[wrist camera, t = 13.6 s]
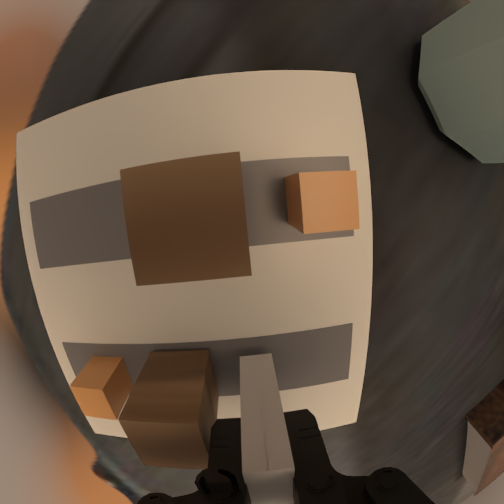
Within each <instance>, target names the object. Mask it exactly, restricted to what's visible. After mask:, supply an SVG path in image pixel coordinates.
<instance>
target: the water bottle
mask: <svg viewBox="0 0 504 504" xmlns="http://www.w3.org/2000/svg"><path fill="white" fill-rule="evenodd" d="M418 87H419V89H420V90H421V92H422V94H423V96H424V98H425V100H426V102H427V104H428V106H429V108H430V110H431V112H432V115H433V117H434V119H435V121H436V123H437V126H438V128H439V130H440V131H441V132H442V133H443V134H445V135H446V136H447V137H449V138H450V139H451V140H453V141H454V142H456V143H457V144H458V145H460V146H461V147H462V148H464V149H465V150H466V151H468V152H469V153H470V154H472V155H473V156H474V157H475V158H477V159H478V160H479V161H480V162H482V163H504V0H474V1H472V2H471V3H469V4H468V5H466V6H465V7H463V8H461V9H460V10H458V11H457V12H455V13H454V14H452V15H451V16H449V17H448V18H446V19H445V20H443V21H442V22H441V23H439V24H438V25H436V26H435V27H433V28H432V29H431V30H429V31H428V32H426V33H425V34H424V35H422V42H421V55H420V66H419V75H418Z"/></svg>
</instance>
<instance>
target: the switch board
mask: <svg viewBox="0 0 504 504" xmlns="http://www.w3.org/2000/svg"><path fill="white" fill-rule="evenodd" d="M238 151H240V160H241V170H242V180H243V191H244V201H245V211H246V221H247V231H248V242H249V252H250V262H251V272H252V276H243V277H233V278H223V279H213V280H202V281H191V282H180V283H168V284H156V285H144V286H136V281H135V276H134V271H133V265H132V260H131V254H130V248H129V242H128V236H127V229H126V222H125V215H124V207H123V198H122V189H121V178H120V170H121V169H126V168H131V167H136V166H141V165H146V164H151V163H157V162H163V161H169V160H175V159H182V158H189V157H196V156H203V155H211V154H220V153H229V152H238ZM16 171H17V190H18V202H19V212H20V220H21V228H22V234H23V240H24V246H25V252H26V257H27V262H28V266H29V271H30V275H31V279H32V283H33V287H34V291H35V295H36V298H37V302H38V305H39V308H40V312H41V315H42V318H43V321H44V324H45V327H46V330H47V333H48V336H49V338H50V341H51V344H52V346H53V349H54V351H55V354H56V356H57V359H58V361H59V364H60V366H61V368H62V370H63V373H64V375H65V377H66V379H67V381H68V384H69V386H70V388H71V390H72V392H73V394H74V396H75V398H76V400H77V402H78V404H79V406H80V408H81V410H82V411H83V413H84V415H85V417H86V418H87V420H88V422H89V424H90V425H91V427H92V429H93V430H94V432H95V433H98V434H104V435H110V436H117V437H125V438H128V437H127V435H126V434H125V432H124V430H123V428H122V426H121V424H120V422H119V420H118V418H119V416H120V414H121V412H122V410H123V408H124V405H125V403H126V401H127V399H128V397H129V395H130V393H131V391H132V389H133V386H134V384H135V382H136V380H137V378H138V376H139V374H140V372H141V370H142V368H143V366H144V364H145V362H146V360H147V358H148V356H149V354H150V352H158V351H188V350H206V349H209V350H210V355H211V360H212V365H213V370H214V375H215V380H216V385H217V389H218V394H219V399H218V413H217V419H225V418H241V407H240V356H251V355H260V354H269V353H272V358H273V363H274V368H275V373H276V378H277V383H278V388H279V393H280V398H281V403H282V408H283V412H289V411H296V410H302V409H308V410H309V411H310V412H311V413H312V414H313V415H314V416H315V418H316V421H317V424H318V428H319V430H324V429H329V428H334V427H338V426H342V425H346V424H351V423H354V422H356V420H357V415H358V410H359V404H360V398H361V392H362V386H363V379H364V372H365V364H366V356H367V347H368V337H369V326H370V313H371V296H372V266H373V234H372V204H371V187H370V174H369V163H368V153H367V144H366V136H365V128H364V121H363V115H362V108H361V102H360V96H359V91H358V86H357V80H356V75H355V73H345V72H332V71H312V70H269V71H249V72H236V73H225V74H216V75H208V76H200V77H194V78H187V79H181V80H176V81H170V82H165V83H160V84H156V85H151V86H147V87H142V88H138V89H134V90H130V91H126V92H123V93H119V94H116V95H112V96H109V97H106V98H102V99H99V100H96V101H93V102H90V103H87V104H84V105H81V106H78V107H76V108H73V109H70V110H68V111H65V112H63V113H60V114H58V115H55V116H53V117H50V118H48V119H46V120H43V121H41V122H39V123H37V124H34V125H32V126H30V127H28V128H26V129H24V130H22V131H20V132H18V133H17V138H16Z"/></svg>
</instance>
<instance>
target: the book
mask: <svg viewBox="0 0 504 504" xmlns="http://www.w3.org/2000/svg"><path fill="white" fill-rule="evenodd" d="M466 419H467V421H468V430H467V442H466V451H465V459H464V466H463V472H462V474H463V476H464V477H465V478H466V480H467V481H468V483H469V484H470V486H471V487H472V489H473V490H474V492H475V495H477V494H478V493H479V492H480V491H482V490H483V489H484V488H485V487H487V486H488V485H489V484H490V483H491V482H493V481H494V480H495V479H496V478H497V477H498V476H500V475H501V474H502V473H503V472H504V380H503V381H502V382H501V383H500V384H499V385H498V386H497V387H496V388H495V389H494V390H493V391H492V392H491V393H490V394H489V395H488V396H486V397H485V398H484V399H483V400H482V401H481V402H480V403H479V404H478V405H477V406H475V407H474V408H473V409H472V410H471V411H470V412H469V413H467V414H466ZM475 495H474V496H475Z"/></svg>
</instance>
